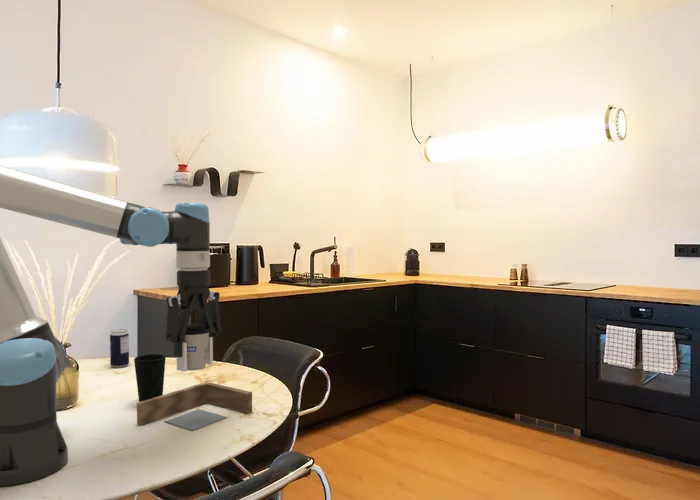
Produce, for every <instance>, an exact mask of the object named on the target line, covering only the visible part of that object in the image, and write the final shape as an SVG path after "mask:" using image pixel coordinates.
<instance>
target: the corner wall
mask: <svg viewBox="0 0 700 500" xmlns="http://www.w3.org/2000/svg"><path fill="white" fill-rule="evenodd" d="M204 404H207V405H212V406H215V407H218V408H219V407H220V408H224V409H227V410H230V411H235V412H239V413H242V414H245V415H246V414H247V415H249V414H252V413H253V392H252V391H249V390H244V389H239V388H235V387H230V386H226V385H222V384H219V383H218V384H217V383H212V382H209V381H205V382H202V383H199V384H195V385H192V386H189V387H185V388H182V389H178V390H175V391H172V392H168V393H166V394H163V395H161V396H158V397H155V398H151V399H148V400H145V401H141V402H139V401H138V402H136V423H137V424H136V425H138V426H140V427H141V426H145V425H147V424H150V423H153V422H156V421H159V420H162V419H165V418H168V417H170V416H172V415H173V416H174V415H175V414H179V413H181V412H185V411H188V410H190V409H193V408H196V407H200V406H202V405H204Z"/></svg>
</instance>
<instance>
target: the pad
mask: <svg viewBox="0 0 700 500" xmlns="http://www.w3.org/2000/svg"><path fill="white" fill-rule="evenodd" d="M225 419H228V416H226V415H225V416H224V415H222V414H218V413H214V412H211V411H206V410H203V409H199V408H197V409H195V410H192V411H189V412H186V413H184V414H181V415H178V416H175V417H173V418H170V419H167V420H164V423H165V424H169V425H172V426H175V427H178V428H180V429H181V428H182V429H185V430H187V431H192V432H194V431H198V430H200V429H202V428H205V427H207V426H210V425H212V424H214V423H218V422H220V421H223V420H225Z"/></svg>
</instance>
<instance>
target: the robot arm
mask: <svg viewBox="0 0 700 500" xmlns="http://www.w3.org/2000/svg"><path fill="white" fill-rule="evenodd" d="M0 209H2V210H3V209H4V210H8V211H10V212H11V211H12V212H15V213H19V214H23V215H27V216H30V217H34V218H39V219H43V220H47V221H49V222H50V221H51V222H54V223H57V224H62V225H66V226H69V227H73V228H76V229H77V228H78V229H82V230H84V231H85V230H86V231H88V232H92V233H97V234H101V235H105V236H108V237H113V238H116V239H119V242H120V243H121V244H122V245H126V246H127V245H130V246H139V245H140V246H142V247H147V248H151V247H156V246H158V245H176V246H175V247H176V253H175V254H176V260H175V261H176V262H175V263H176V266H175V267H176V268H177V269H179V270H177V272H176V286H177V288H178V291H177V295H174V296H168V297H167V298H166V305H167V314H166V315H167V317H166V331H165V340H166V341H169V342H172V343H173V353H174V357H175V358H176V371H179V372H180V371H181V372H188V370H187V343H186V342H183V341H184V338H185V334H186V330H187V326H188V325H189V323H190V318H191V315H192V314H193V313H194V310H196V312H197V313H198V316H199V319H200V322H201V323H200V324H204V325H205V327H206V328H209V330H210V332H209V338H208V347H207V357H206V365H214V349H215V337H216V338H217V337H218V334H219V333H221V332H222V323H221V315H220V314H221V313H220V306H219V305H220V304H219V301H220V295H221V294H220V292H218V291H211V290H210V288H209V286H210V285H211V271H210V270H209V269H208V268H210V267H211V248H210V246H211V241H210V240H211V239H210V237H211V232H210V226H211V225H210V224H211V222H210V215H209V214H210V212H209V206H208V205H207V204H206V203H203V202H178V203H176V204H175V208H174V210H171V211H161V210H160V209H158V208H154V207H152V206H151V207H149V206H147V207H146V206H144V205H139V204H137V203H136V204H135V203H132V202H128V201H126V200H122V199H118V198H115V197H112V196H108V195H105V194H101V193H98V192H94V191H91V190H87V189H84V188H80V187H78V186H74V185H70V184H66V183H64V182H63V183H62V182H60V181H56V180H52V179H50V178H46V177H41V176H38V175H35V174H32V173H28V172H24V171H20V170H18V169H14V168H10V167H6V166H3V165H0ZM54 334H55V333H54V332H53V330H52V328H51V325H50V324H49V322H48V320H47V319H44V318H42V317H38V316H37V315H36V312H35V311H34V308H33V306H32V304H31V301H30V300H29V298H28V295H27V293H26V291H25V289H24V286H23V284H22V282H21V279H20V278H19V276H18V273H17V271H16V269H15V267H14V265H13V262H12V261H11V258H10V256H9V253H8V251H7V250H6V247H5V245H4V243H3V241H2V239H1V237H0V487H8V486H14V485H20V484H24V483H28V482H31V481H32V482H33V481H35V480H38V479H39V480H40V479H43V478H44V477H47V476H49V475H51V474H53V473H55V472H58V471H59V470H60V469H62V468H63V467H64V466H66V464H67V463H68V460H69V456H68V455H69V453H68V452H69V451H68V446H67V443H66V441H65V438H64V436H63V433H62V432H61V429H60V426H59V423H58V419H57V418H58V417H57V383H58V381H59V379H60V378H61V377H62V375H63V372H64V371H65V369H66V363H67V353H66V352H67V351H66V349H65V347H64V345H63V344H62V342H61V341H60V339H58V338H57V337H56V336H55V335H54Z"/></svg>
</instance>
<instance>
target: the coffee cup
mask: <svg viewBox="0 0 700 500" xmlns="http://www.w3.org/2000/svg"><path fill="white" fill-rule="evenodd" d="M209 332H210V330H209V328H206V327H205V325H204V324H202V323H191V324H188V326H187V330H186V334H185V338H184V341H183V342H186V343H187V371H190V372H191V371H194V372H195V371H201V370H205V369H206V366H207V364H206V357H207V347H208V338H209Z"/></svg>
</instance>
